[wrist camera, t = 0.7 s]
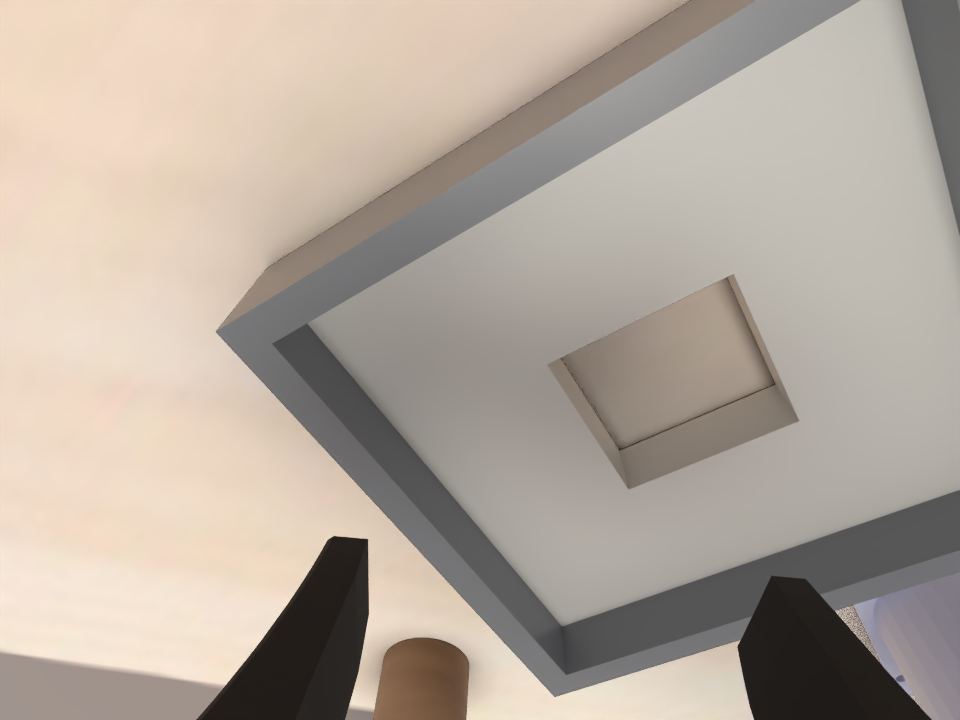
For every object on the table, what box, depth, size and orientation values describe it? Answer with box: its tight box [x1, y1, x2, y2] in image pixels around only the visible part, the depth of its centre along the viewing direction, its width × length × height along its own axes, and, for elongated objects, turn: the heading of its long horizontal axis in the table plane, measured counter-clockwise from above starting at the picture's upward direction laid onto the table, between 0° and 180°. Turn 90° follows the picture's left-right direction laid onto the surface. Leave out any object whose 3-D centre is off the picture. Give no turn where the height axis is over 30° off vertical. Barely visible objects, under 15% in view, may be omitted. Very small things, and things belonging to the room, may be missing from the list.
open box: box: [216, 0, 960, 697], centre depth 19 cm, size 18×18×4 cm
